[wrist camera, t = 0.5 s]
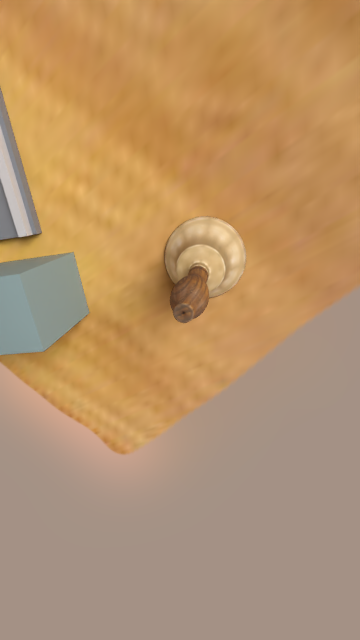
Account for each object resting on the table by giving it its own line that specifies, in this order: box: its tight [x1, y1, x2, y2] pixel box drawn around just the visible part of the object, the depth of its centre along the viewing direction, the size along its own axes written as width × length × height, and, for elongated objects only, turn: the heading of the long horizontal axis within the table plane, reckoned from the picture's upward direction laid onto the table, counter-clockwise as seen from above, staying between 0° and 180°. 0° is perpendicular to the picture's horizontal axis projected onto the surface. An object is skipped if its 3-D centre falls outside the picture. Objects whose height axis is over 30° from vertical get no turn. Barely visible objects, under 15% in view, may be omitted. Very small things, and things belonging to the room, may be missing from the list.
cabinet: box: [0, 252, 89, 355], centre depth 35 cm, size 7×11×10 cm, turn 99°
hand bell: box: [165, 217, 246, 323], centre depth 28 cm, size 8×8×16 cm
